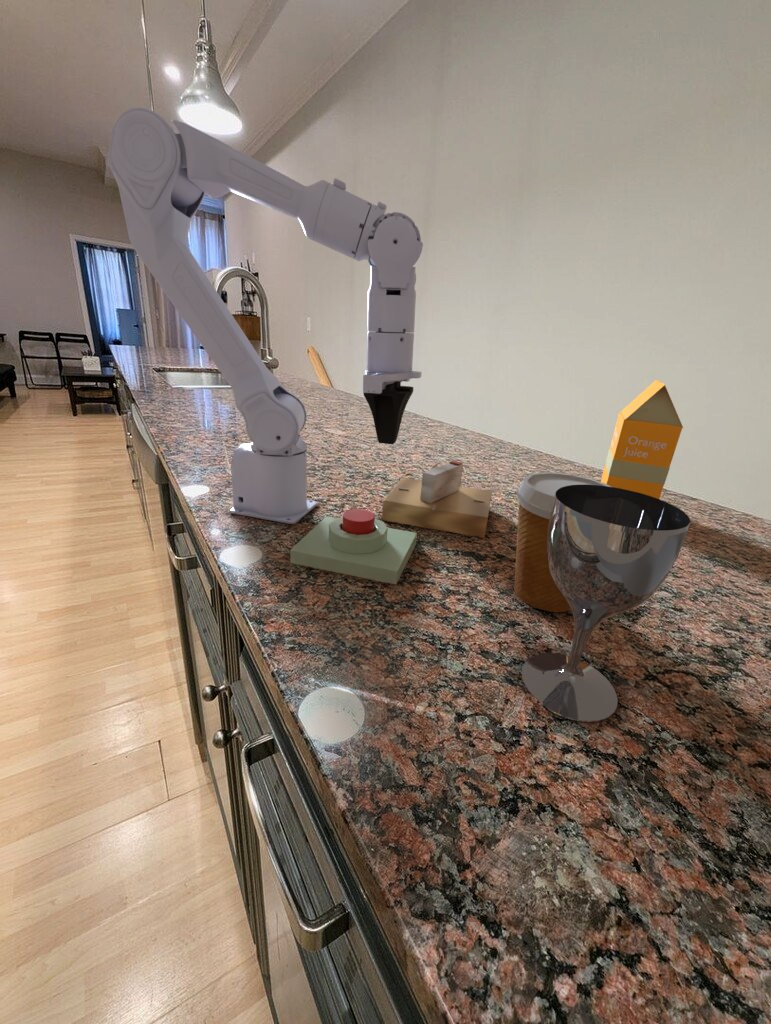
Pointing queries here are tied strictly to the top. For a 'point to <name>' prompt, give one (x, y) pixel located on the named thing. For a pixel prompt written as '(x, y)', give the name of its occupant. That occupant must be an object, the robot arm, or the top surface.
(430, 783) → the top surface
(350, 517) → the button
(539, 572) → the disposable coffee cup
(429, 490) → the grey rectangular block
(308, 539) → the button block
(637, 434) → the orange juice
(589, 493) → the wine glass
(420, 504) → the wooden base
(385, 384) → the robot arm
